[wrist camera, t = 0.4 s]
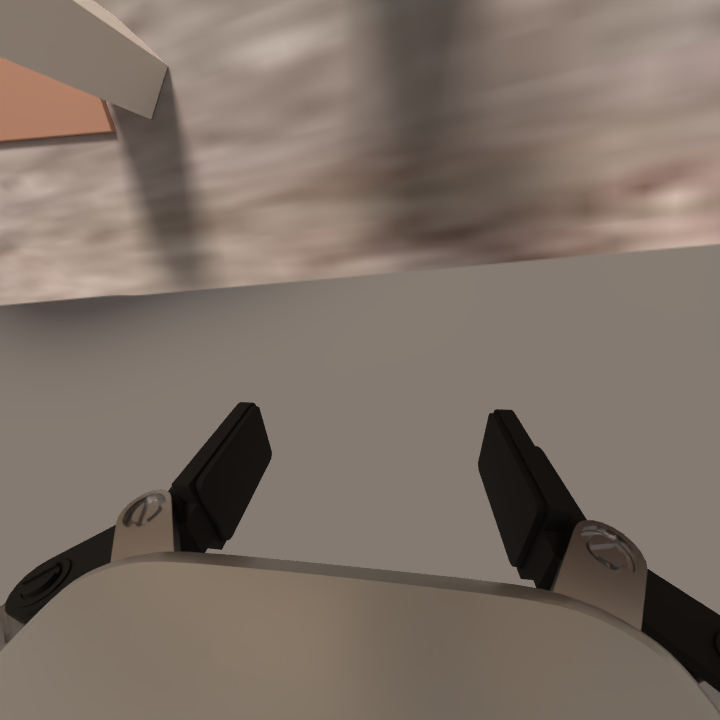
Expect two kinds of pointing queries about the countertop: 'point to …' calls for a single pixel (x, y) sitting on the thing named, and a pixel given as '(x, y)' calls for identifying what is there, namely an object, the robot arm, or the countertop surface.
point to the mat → (46, 107)
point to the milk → (82, 50)
